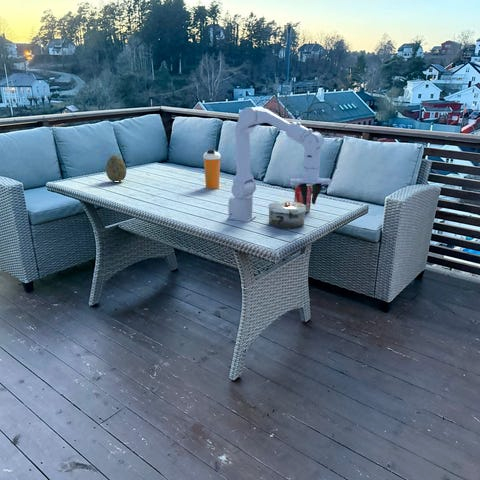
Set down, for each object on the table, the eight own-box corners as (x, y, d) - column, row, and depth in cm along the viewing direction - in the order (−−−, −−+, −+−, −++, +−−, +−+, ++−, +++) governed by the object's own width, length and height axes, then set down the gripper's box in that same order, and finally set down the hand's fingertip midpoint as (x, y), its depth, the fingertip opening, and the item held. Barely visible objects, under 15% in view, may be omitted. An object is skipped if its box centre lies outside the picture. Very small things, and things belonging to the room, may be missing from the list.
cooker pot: (257, 229, 156) (258, 214, 154) (276, 216, 172) (277, 202, 170) (292, 235, 150) (293, 219, 148) (308, 221, 166) (309, 206, 164)
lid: (275, 218, 149) (276, 213, 148) (265, 204, 167) (265, 198, 166) (314, 217, 151) (315, 211, 150) (299, 203, 169) (300, 197, 168)
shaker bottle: (221, 185, 223) (220, 148, 215) (220, 189, 214) (220, 150, 207) (204, 185, 222) (203, 148, 215) (203, 189, 214) (202, 150, 207)
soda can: (299, 207, 184) (300, 181, 179) (313, 210, 180) (315, 183, 175) (290, 211, 178) (292, 184, 174) (304, 214, 174) (306, 186, 170)
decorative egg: (124, 184, 224) (121, 156, 218) (104, 184, 224) (101, 156, 218) (129, 180, 234) (127, 153, 228) (110, 180, 234) (107, 153, 228)
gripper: (294, 169, 143) (292, 207, 148) (334, 169, 144) (331, 206, 149) (289, 165, 149) (288, 201, 154) (328, 165, 151) (325, 201, 156)
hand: (309, 203), depth 152 cm, fingers open, 3 cm apart
